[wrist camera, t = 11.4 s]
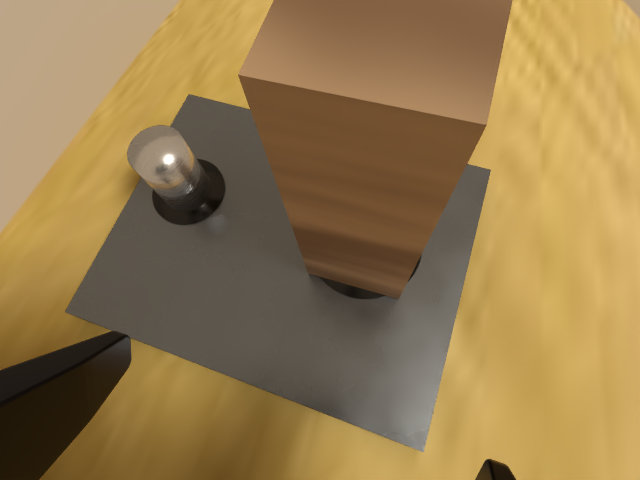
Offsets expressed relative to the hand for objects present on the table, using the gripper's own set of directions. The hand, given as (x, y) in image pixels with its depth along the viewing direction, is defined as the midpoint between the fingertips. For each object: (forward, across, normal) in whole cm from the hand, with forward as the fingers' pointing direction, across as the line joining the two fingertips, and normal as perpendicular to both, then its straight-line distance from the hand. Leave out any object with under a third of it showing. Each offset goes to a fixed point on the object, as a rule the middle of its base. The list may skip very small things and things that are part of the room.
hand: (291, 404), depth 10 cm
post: (+11, 0, +1) cm, 11 cm away
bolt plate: (+12, +4, +2) cm, 12 cm away
